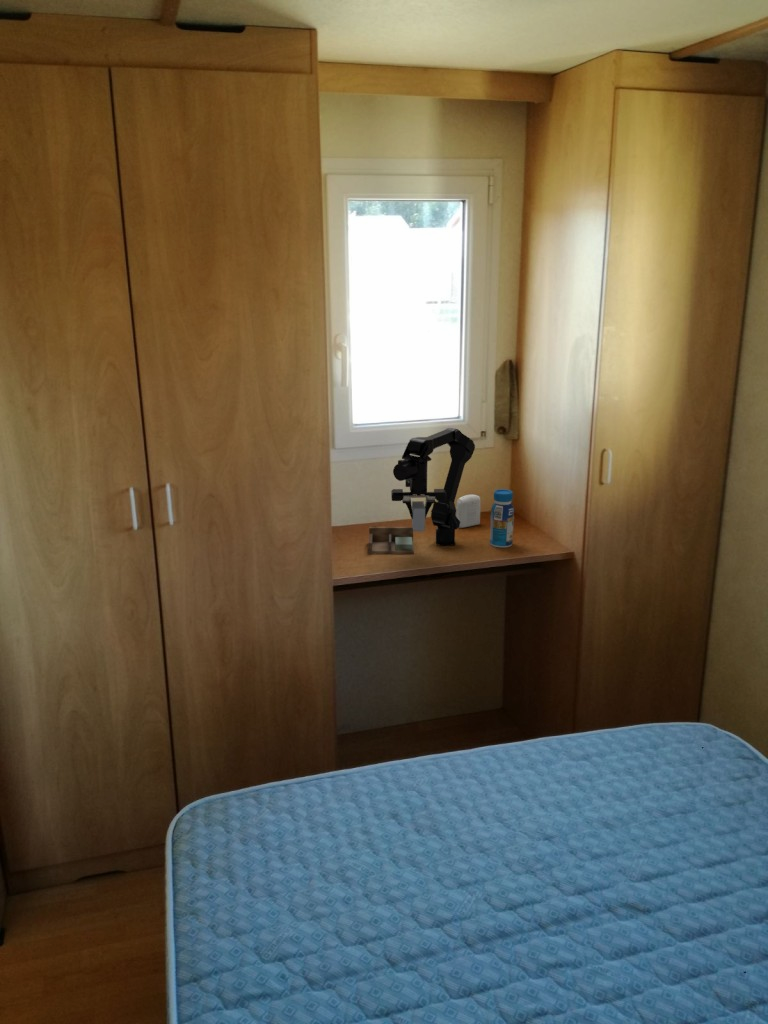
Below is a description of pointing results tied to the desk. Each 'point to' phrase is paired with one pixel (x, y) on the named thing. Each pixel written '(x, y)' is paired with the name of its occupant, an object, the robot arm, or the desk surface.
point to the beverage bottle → (502, 519)
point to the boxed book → (418, 515)
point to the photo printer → (468, 510)
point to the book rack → (391, 540)
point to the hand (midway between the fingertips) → (418, 518)
